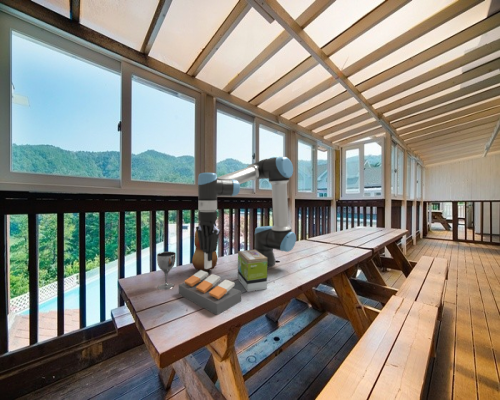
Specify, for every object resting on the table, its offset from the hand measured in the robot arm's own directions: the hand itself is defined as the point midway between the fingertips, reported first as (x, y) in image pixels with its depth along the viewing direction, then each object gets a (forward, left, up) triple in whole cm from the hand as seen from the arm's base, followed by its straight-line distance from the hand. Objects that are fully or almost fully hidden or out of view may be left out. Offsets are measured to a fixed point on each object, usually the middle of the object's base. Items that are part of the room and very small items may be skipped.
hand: (208, 267), depth 86 cm
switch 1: (0, -7, -7) cm, 10 cm away
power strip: (-5, +1, -12) cm, 13 cm away
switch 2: (0, +8, -7) cm, 11 cm away
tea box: (-22, +5, -13) cm, 26 cm away
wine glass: (+6, -23, -13) cm, 26 cm away
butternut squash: (-18, -25, -13) cm, 33 cm away
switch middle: (0, 0, -7) cm, 7 cm away
